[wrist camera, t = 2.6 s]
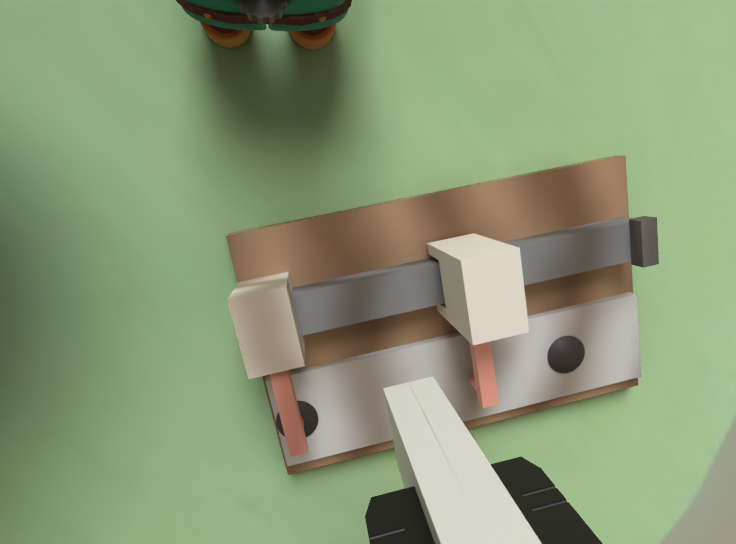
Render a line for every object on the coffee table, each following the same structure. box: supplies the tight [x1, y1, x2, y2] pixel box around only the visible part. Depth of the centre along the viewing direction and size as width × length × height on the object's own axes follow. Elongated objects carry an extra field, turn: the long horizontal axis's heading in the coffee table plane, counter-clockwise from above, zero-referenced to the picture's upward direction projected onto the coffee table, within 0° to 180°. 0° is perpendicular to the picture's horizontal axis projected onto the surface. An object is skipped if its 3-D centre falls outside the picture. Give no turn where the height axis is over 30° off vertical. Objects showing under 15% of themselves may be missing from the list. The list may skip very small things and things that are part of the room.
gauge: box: [226, 156, 659, 475], centre depth 28 cm, size 25×16×5 cm, turn 101°
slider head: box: [427, 233, 529, 408], centre depth 26 cm, size 3×10×6 cm, turn 11°
